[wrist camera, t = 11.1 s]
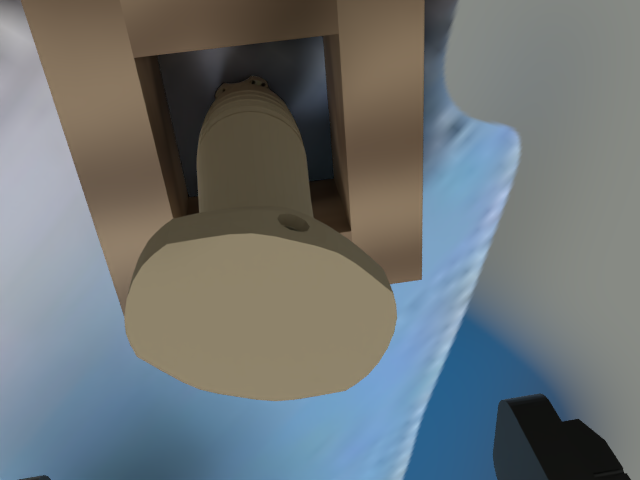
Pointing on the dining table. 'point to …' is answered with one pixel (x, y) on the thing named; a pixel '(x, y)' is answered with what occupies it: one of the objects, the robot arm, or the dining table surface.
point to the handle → (257, 270)
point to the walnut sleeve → (225, 31)
